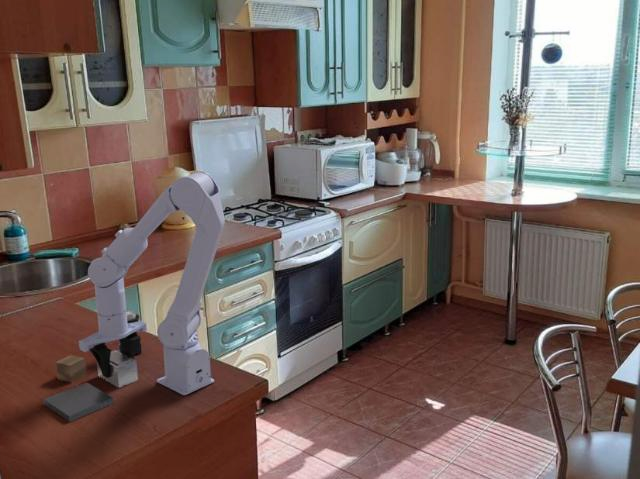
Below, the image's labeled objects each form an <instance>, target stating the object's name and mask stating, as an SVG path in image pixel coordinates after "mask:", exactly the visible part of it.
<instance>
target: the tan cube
mask: <svg viewBox="0 0 640 479" xmlns="http://www.w3.org/2000/svg"><path fill="white" fill-rule="evenodd" d="M85 359H86V358H85V357H80V356H76V355H73V354H70V355H68V356H66V357H64V358H62V359H59V360H57V361H56V362H55V366H56V374H57V379H58V380H59V379H62V380H61V381H63V380H66V381H69V382H68V383H70V382H73V381H75V380H76V381H78V380H79V378H80V379H82V378H84V377H85V376H84V375H86V376H87V369H86V360H85ZM83 376H84V377H83ZM81 377H82V378H81ZM77 379H78V380H77ZM66 381H65V382H66ZM76 381H75V382H76ZM73 383H74V382H73Z"/></svg>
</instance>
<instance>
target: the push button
mask: <svg viewBox="0 0 640 479" xmlns="http://www.w3.org/2000/svg"><path fill="white" fill-rule="evenodd" d="M126 313H127V324H129V323H134V322H138V321H139V320H140V315H139V314H137V313H136V312H135V311H133V310H126ZM117 346H118V349H116V351H118V352H120V353H122V349H121V345H120V343H119V344H118V345H117ZM142 351H143V350H142V343H141V342H140V343H139V345H138V347H137V349H136V352H135V355H141V354H142V353H143V352H142Z"/></svg>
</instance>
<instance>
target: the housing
mask: <svg viewBox="0 0 640 479" xmlns="http://www.w3.org/2000/svg"><path fill="white" fill-rule="evenodd" d="M116 350H117V349H116ZM116 350H115V349H114V350H113V351H112V350H111V354H110V370H111V376H110V377H109V378H106V377H104V376H103V375H102V372H101V369H100V367H99V364H98V362H97V361H96V367H97V373H98V374H97V376H99V377H98V378H100V377H101V379H102V378H103V380H104V379H105V380H104V381H106V382H108V383H109V382H110V383H109V384H111V385H114V386H115V387H117V388H118V387H119V389H120V388H122V387H125V386H127V385H130V384H132V383H135V382H137V381H138V380H139V375H138V365H137V364H138V363H137V359H135V358H134V359H132V358H130V357H128V356H126V355H124V354H122V353H120V352H118V351H116ZM124 385H125V386H124Z"/></svg>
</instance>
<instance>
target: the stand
mask: <svg viewBox="0 0 640 479" xmlns="http://www.w3.org/2000/svg"><path fill="white" fill-rule="evenodd" d="M113 404H114V397H113V396H112V395H109V394H107V393H106V392H104V391H102V390H101V389H99V388H97V387H95V386H93V385H92V384H90V383H88V382H84V383H81V384H78V385H76V386H74V387H73V386H72V387H70V388H69V389H66V390H63V391H61V392H60V391H59V392H58V393H55V394H53V395H50V396H48V397H45V398H43V405H44V406H46V407H47V408H49V409H50V410H52V411H53V412H55V413H56V414H58V415H59V416H60V417H62V418H63V419H65V420H66V421H67V422H69V423H70V422H73V421H76V420H78V419H80V418H83V417H84V416H87V415H90V414H92V413H95V412H96V411H98V410H101V409H104V408H106V407H109V406H110V405H113Z"/></svg>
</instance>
